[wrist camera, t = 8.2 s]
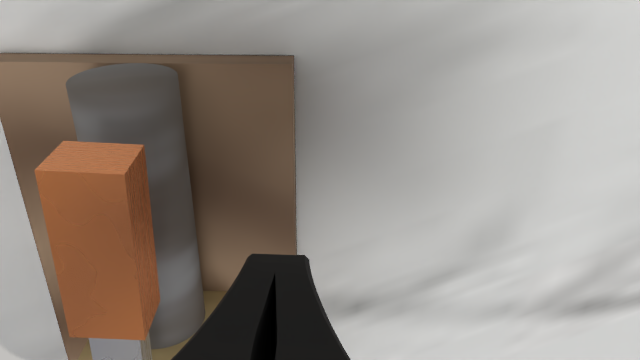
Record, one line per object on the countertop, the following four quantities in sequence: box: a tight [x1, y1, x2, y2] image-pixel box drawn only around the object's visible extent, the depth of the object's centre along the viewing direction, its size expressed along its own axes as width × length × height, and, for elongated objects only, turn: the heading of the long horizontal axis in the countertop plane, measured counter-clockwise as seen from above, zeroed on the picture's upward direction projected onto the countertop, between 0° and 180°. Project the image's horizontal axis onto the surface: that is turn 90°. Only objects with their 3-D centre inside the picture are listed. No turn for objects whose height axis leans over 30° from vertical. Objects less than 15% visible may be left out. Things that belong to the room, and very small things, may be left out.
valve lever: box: [34, 141, 160, 360], centre depth 16 cm, size 13×3×2 cm, turn 177°
